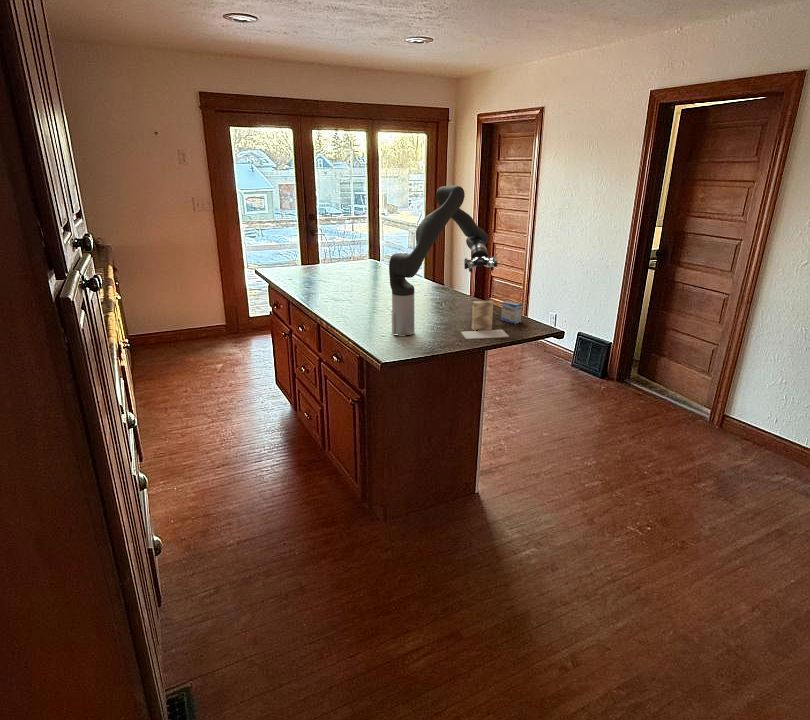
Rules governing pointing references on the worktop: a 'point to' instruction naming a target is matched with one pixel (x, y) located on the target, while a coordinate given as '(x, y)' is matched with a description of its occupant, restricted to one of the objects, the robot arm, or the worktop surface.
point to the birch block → (482, 315)
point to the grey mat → (484, 334)
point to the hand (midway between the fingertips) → (481, 270)
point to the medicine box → (511, 312)
